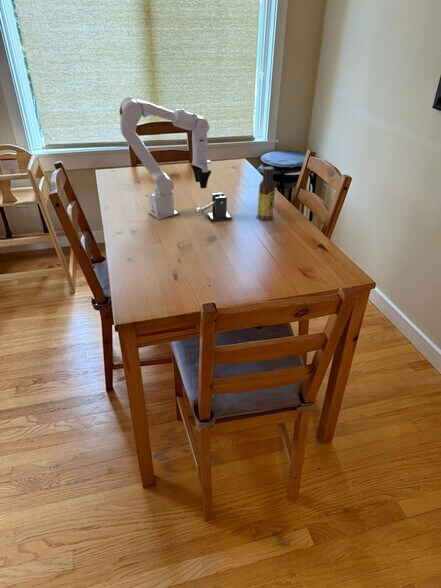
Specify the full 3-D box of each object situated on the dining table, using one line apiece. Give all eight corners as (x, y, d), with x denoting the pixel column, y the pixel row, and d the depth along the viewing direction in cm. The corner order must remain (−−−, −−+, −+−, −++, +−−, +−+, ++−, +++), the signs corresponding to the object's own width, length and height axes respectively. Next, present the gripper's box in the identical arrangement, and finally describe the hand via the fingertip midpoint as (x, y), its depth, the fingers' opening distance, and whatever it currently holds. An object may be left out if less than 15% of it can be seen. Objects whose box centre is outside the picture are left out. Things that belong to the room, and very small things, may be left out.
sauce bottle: (271, 221, 160) (276, 171, 149) (256, 220, 161) (259, 170, 150) (273, 215, 165) (277, 166, 154) (258, 213, 166) (261, 164, 155)
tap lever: (198, 218, 158) (195, 211, 156) (197, 215, 160) (193, 209, 159) (225, 202, 158) (222, 196, 156) (223, 199, 160) (219, 193, 158)
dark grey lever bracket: (211, 221, 159) (211, 199, 154) (207, 215, 164) (207, 193, 158) (231, 219, 161) (231, 197, 156) (226, 213, 166) (226, 191, 160)
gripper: (215, 154, 151) (215, 189, 159) (205, 144, 163) (205, 178, 170) (197, 156, 149) (198, 191, 157) (187, 146, 161) (189, 179, 168)
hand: (200, 184), depth 164 cm, fingers open, 7 cm apart
